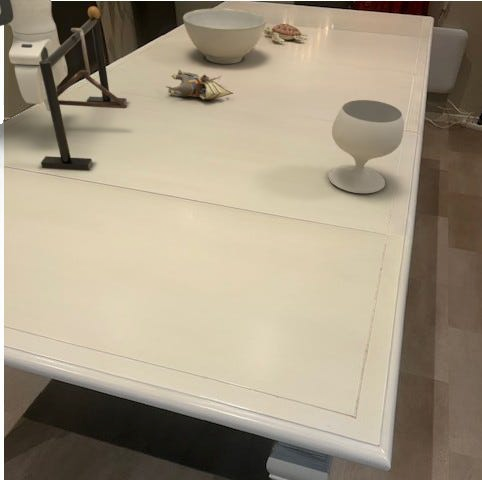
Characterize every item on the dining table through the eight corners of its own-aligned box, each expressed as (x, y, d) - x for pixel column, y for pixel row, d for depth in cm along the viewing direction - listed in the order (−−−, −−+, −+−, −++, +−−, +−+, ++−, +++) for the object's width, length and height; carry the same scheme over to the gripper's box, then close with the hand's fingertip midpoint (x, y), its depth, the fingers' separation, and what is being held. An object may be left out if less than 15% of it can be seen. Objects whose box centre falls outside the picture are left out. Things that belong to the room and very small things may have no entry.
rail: (88, 170, 103) (69, 65, 89) (42, 167, 103) (14, 62, 89) (125, 104, 130) (114, 17, 116) (88, 102, 130) (73, 14, 116)
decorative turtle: (268, 30, 193) (269, 16, 189) (309, 35, 190) (311, 21, 187) (258, 42, 180) (258, 27, 176) (301, 47, 177) (303, 32, 174)
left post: (124, 106, 129) (112, 8, 114) (87, 104, 129) (70, 6, 114) (126, 102, 131) (115, 6, 116) (90, 100, 131) (73, 3, 116)
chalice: (319, 190, 100) (331, 118, 90) (328, 161, 110) (340, 94, 100) (387, 202, 98) (407, 129, 88) (390, 171, 108) (409, 103, 98)
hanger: (126, 109, 114) (117, 30, 103) (46, 104, 114) (28, 26, 103) (127, 107, 115) (118, 29, 104) (47, 103, 115) (29, 25, 103)
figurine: (196, 62, 143) (246, 74, 137) (196, 84, 147) (244, 96, 141) (155, 75, 129) (208, 89, 123) (155, 99, 133) (207, 113, 127)
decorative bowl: (256, 47, 175) (258, 8, 167) (269, 71, 156) (272, 29, 148) (182, 46, 172) (181, 7, 164) (186, 71, 153) (185, 28, 144)
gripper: (39, 30, 111) (53, 92, 120) (4, 57, 96) (23, 125, 105) (67, 32, 111) (78, 93, 120) (36, 59, 96) (52, 127, 105)
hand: (52, 109), depth 113 cm, fingers closed
